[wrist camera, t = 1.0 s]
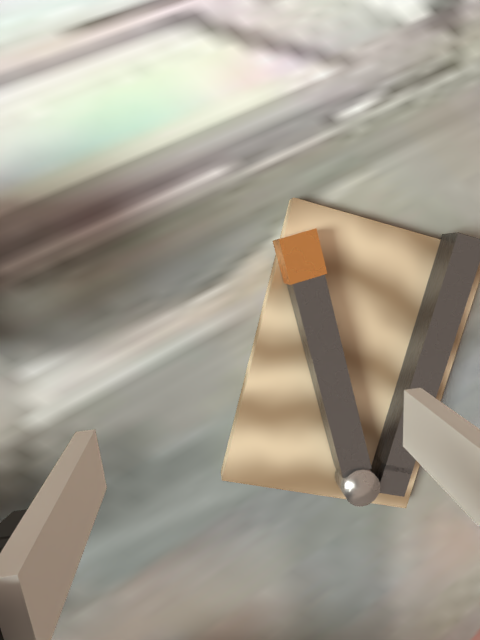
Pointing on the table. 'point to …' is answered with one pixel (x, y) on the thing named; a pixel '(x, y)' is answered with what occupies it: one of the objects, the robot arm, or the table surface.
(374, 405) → the serving board
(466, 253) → the bar
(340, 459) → the bar
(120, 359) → the table surface
